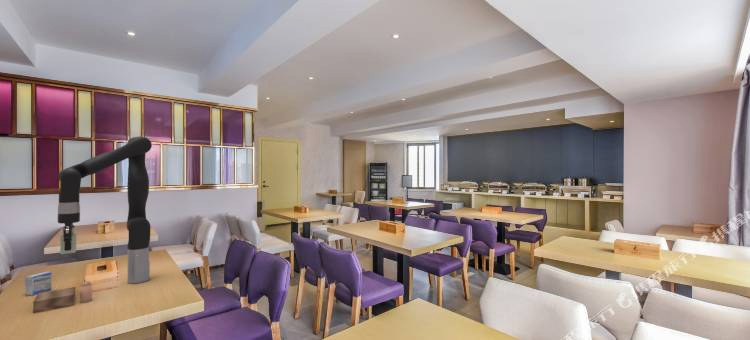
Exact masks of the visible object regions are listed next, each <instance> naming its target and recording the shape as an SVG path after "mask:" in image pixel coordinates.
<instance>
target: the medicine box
mask: <svg viewBox="0 0 750 340" xmlns="http://www.w3.org/2000/svg"><path fill="white" fill-rule="evenodd" d="M24 279H25V280H24V287H25V288H24V289H25V290H24V294H25V296H37V294H38V293H42V292H48V291H52V272H51V271H43V272H39V273H35V274H31V275H28V276H25V277H24Z"/></svg>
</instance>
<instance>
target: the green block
mask: <svg viewBox="0 0 750 340" xmlns="http://www.w3.org/2000/svg"><path fill="white" fill-rule="evenodd" d="M77 235H78V234H77V233H76V232H75V233H74V234H73V237H72V242H71V250H69V251H65V243H64V241H63V240H64V237H63V234H61V235H60V240H59V242H60V244H59V247H60V250H59V254H60V255H66V254H75V253H76V252H77ZM66 239H70V237H66Z"/></svg>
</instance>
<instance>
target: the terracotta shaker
mask: <svg viewBox="0 0 750 340" xmlns="http://www.w3.org/2000/svg"><path fill="white" fill-rule="evenodd" d="M91 301H93V284H92V283H91V281H89V280H85V281H83V282H82V283H81V285H80V286H79V303H81V304H85V303H89V302H91Z"/></svg>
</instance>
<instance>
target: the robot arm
mask: <svg viewBox="0 0 750 340" xmlns="http://www.w3.org/2000/svg"><path fill="white" fill-rule="evenodd" d="M152 145H153V144H152V141H151V140H150V139H149V138H147V137H145V136H140V135H139V136H133V137H131V138H130V139H129V140H128V141H127V143H126V144H123V145H122V146H120V147H118V148H115V149H112V150H110V151H107V152H104V153H101V154H98V155H96V156H93V157H91V158H89V159H86V160H85V161H81V163H78V164H75V165H72V166H69V167H66V168H64V169H62V170H60V171H59V173H58V175H57V178H58V180H59V182H60V191H59V192H58V206H57V223H58V224H63V225H64V226H63V227H62V235H63V237H64V240H63V241H64V243H65V251H69V250H71V242H72V237H73V234H75V230H76V226H75V225H74V223H79V222H81V204H80V189H81V185H82V179H84V178H85V177H88V176H92V175H94V174H95V175H96V174H97V173H99V172H101V171H104V170H105V169H108V168H111V167H112V166H114V165H116V164H118V163H120V162H122V161H124V160H128V167H127V168H128V169H127V181H126V182H127V185H126V186H127V189H126V190H127V202H128V214H127V220H126V229H127V231H128V241H127V280H126V281H127V283H128V284H140V283H145V282H148V281H150V279H151V278H150V277H151V276H150V275H151V273H150V272H151V271H150V270H151V269H150V267H151V266H150V265H151V264H150V243H151V223H150V221H149V220H148V219H147V214H146V205H147V201H148V197H149V191H150V177H149V174H148V171H147V167H146V154H147V153H149V152H150V151H151V149H152V147H153V146H152ZM66 237H70V239H66Z"/></svg>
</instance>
